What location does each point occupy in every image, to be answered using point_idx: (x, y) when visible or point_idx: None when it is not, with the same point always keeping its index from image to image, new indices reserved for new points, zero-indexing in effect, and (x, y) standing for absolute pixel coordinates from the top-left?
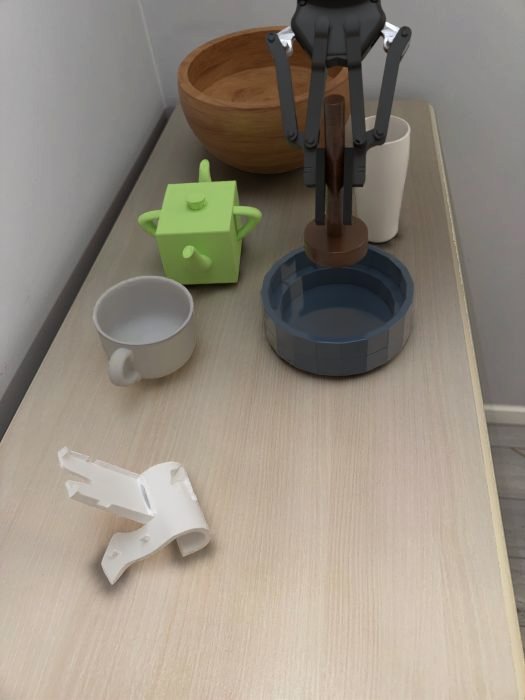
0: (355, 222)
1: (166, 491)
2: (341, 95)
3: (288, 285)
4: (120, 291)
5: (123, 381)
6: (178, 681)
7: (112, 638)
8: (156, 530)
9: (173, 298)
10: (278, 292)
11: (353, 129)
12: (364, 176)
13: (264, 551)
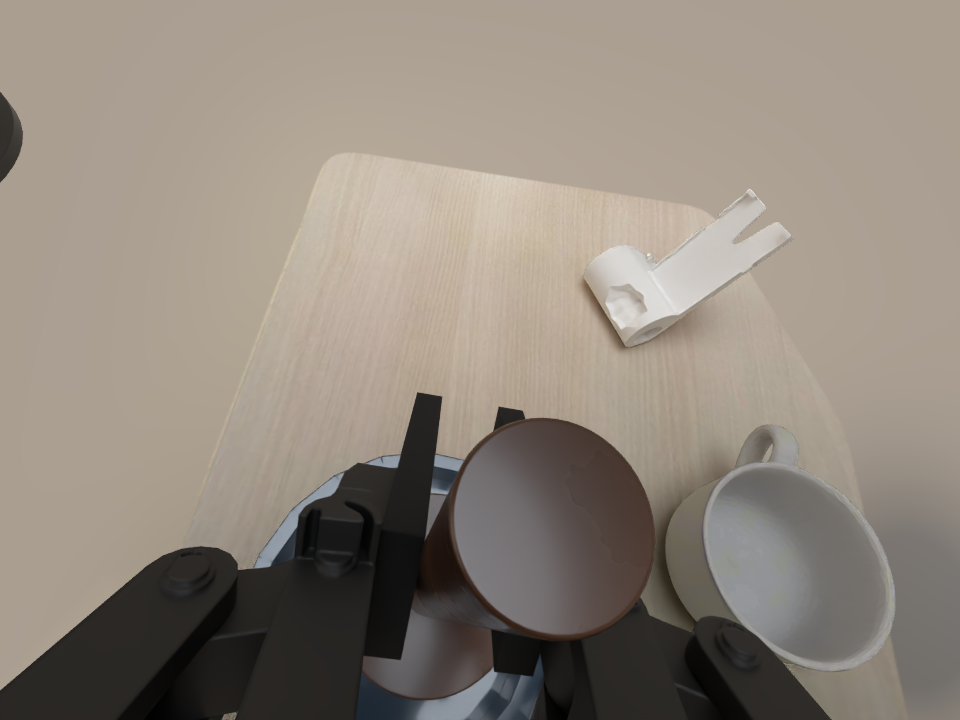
0: None
1: (644, 286)
2: (477, 590)
3: (512, 700)
4: (863, 632)
5: (755, 429)
6: (587, 195)
7: (646, 227)
8: (641, 259)
9: None
10: (534, 674)
11: (359, 612)
12: (346, 478)
13: (528, 270)
